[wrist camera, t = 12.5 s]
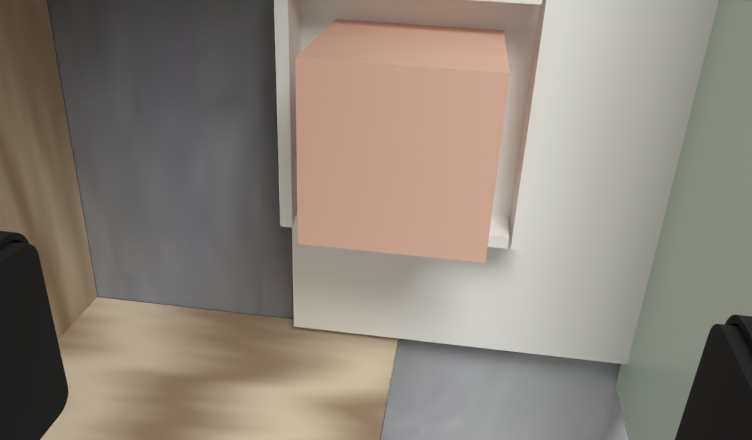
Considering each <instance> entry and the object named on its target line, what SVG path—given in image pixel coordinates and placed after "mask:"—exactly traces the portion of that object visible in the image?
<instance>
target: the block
mask: <svg viewBox="0 0 752 440" xmlns="http://www.w3.org/2000/svg"><path fill="white" fill-rule="evenodd" d="M295 73H296V149H297V224H298V244H304V245H314V246H324V247H333V248H343V249H353V250H362V251H372V252H382V253H392V254H401V255H411V256H421V257H431V258H440V259H450V260H460V261H470V262H479V263H486V255H487V247H488V240H489V232H490V224H491V216H492V208H493V201H494V193H495V185H496V177H497V169H498V162H499V154H500V146H501V138H502V130H503V123H504V115H505V107H506V99H507V91H508V84H509V76H510V71H509V64H508V57H507V50H506V43H505V35H504V30H489V29H474V28H459V27H444V26H430V25H415V24H400V23H385V22H370V21H355V20H340V19H335V20H334V21H333V22H332V23H331V24H330V25H329V26H328V27H327V28H326V29H325V30H324V31H323V32H322V33H321V34H320V35H318V36H317V37H316V38H315V39H314V40H313V41H312V42H311V43H310V44H309V45H308V46H307V47H306V48H305V49H304V50H303V51H302V52H301V53H300V54H299V55H297V56H296V57H295Z"/></svg>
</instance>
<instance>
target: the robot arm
mask: <svg viewBox="0 0 752 440" xmlns="http://www.w3.org/2000/svg"><path fill="white" fill-rule="evenodd" d="M67 399H68V384H67V379H66V375H65V370H64V366H63V361H62V357H61V352H60V348H59V343H58V339H57V334H56V330H55V325H54V321H53V316H52V312H51V307H50V303H49V298H48V294H47V289H46V285H45V280H44V276H43V271H42V267H41V262H40V258H39V254H38V251H37V249H36V248H35V247H34V246H33V245H31V244H29V242H28V240H27V239H26V237H25V236H24V235H22V234H20V233H16V232H7V231H0V440H40V439H41V438H42V437H43V436H44V434H45V433H46V432H47V431H48V429H49V428H50V427H51V426H52V424H53V423H54V422H55V421H56V419H57V418H58V417H59V416H60V414H61V413H62V411H63V410H64V407H65V405H66V402H67ZM675 440H752V316H744V315H735V314H734V315H732V316H730V317H729V318H728V320H727V321H726V323H725V325H724V324H715V325H713V326H712V328H711V329H710V332H709V334H708V337H707V340H706V344H705V347H704V350H703V353H702V356H701V359H700V362H699V365H698V368H697V372H696V375H695V378H694V381H693V384H692V387H691V390H690V393H689V397H688V400H687V403H686V406H685V409H684V412H683V415H682V418H681V422H680V425H679V428H678V431H677V434H676V437H675Z"/></svg>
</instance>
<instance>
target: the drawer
mask: <svg viewBox="0 0 752 440" xmlns="http://www.w3.org/2000/svg"><path fill="white" fill-rule="evenodd" d="M335 19H340V20H355V21H370V22H385V23H400V24H415V25H430V26H444V27H459V28H474V29H489V30H504V35H505V43H506V50H507V57H508V64H509V71H510V76H509V84H508V91H507V99H506V107H505V115H504V123H503V130H502V138H501V146H500V154H499V162H498V169H497V177H496V185H495V193H494V201H493V208H492V216H491V224H490V232H489V240H488V247H487V255H486V263H479V262H470V261H460V260H450V259H440V258H431V257H421V256H411V255H401V254H392V253H382V252H372V251H362V250H353V249H343V248H333V247H324V246H314V245H304V244H298V224H297V149H296V73H295V57H296V56H297V55H299V54H300V53H301V52H302V51H303V50H304V49H305V48H306V47H307V46H308V45H309V44H310V43H311V42H312V41H313V40H314V39H315V38H316V37H317V36H318V35H320V34H321V33H322V32H323V31H324V30H325V29H326V28H327V27H328V26H329V25H330V24H331V23H332V22H333V21H334V20H335ZM274 21H275V57H276V93H277V129H278V165H279V201H280V226H282V227H292V254H293V306H294V327H303V328H311V329H320V330H329V331H338V332H346V333H355V334H364V335H373V336H381V337H390V338H399V339H408V340H416V341H425V342H434V343H443V344H451V345H460V346H469V347H478V348H486V349H495V350H504V351H513V352H521V353H530V354H539V355H548V356H556V357H565V358H574V359H583V360H591V361H600V362H609V363H618V364H621V365H620V369H619V373H618V377H617V381H616V385H615V388H616V392H617V396H618V400H619V404H620V407H621V411H622V415H623V419H624V423H625V427H626V430H627V434H628V438H629V440H675V437H676V434H677V431H678V428H679V425H680V422H681V418H682V415H683V412H684V409H685V406H686V403H687V400H688V397H689V393H690V390H691V387H692V384H693V381H694V378H695V375H696V372H697V368H698V365H699V362H700V359H701V356H702V353H703V350H704V347H705V344H706V340H707V337H708V334H709V332H710V329H711V328H712V326H713V325H715V324H724V325H725V323H726V321H727V320H728V318H729V317H730V316H732V315H734V314H735V315H744V316H752V0H274Z"/></svg>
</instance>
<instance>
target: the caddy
mask: <svg viewBox="0 0 752 440" xmlns="http://www.w3.org/2000/svg"><path fill="white" fill-rule="evenodd" d="M0 231H7V232H16V233H20V234H22V235H24V236H25V237H26V239H27V240H28V242H29V244H31V245H33V246H34V247H35V248H36V249H37V251H38V254H39V258H40V262H41V267H42V271H43V276H44V280H45V285H46V289H47V294H48V298H49V303H50V307H51V312H52V316H53V321H54V325H55V330H56V334H57V339H58V343H59V348H60V352H61V357H62V361H63V366H64V370H65V375H66V379H67V384H68V399H67V402H66V405H65V407H64V410H63V411H62V413H61V414H60V416H59V417H58V418H57V419H56V421H55V422H54V423H53V424H52V426H51V427H50V428H49V429H48V431H47V432H46V433H45V434H44V436H43V437H42V438H41V439H40V440H381V435H382V429H383V424H384V418H385V413H386V407H387V402H388V396H389V391H390V385H391V380H392V374H393V369H394V363H395V358H396V352H397V347H398V340H399V338H390V337H381V336H373V335H364V334H355V333H346V332H338V331H329V330H320V329H311V328H303V327H294V319H286V318H277V317H268V316H259V315H250V314H241V313H233V312H224V311H215V310H206V309H197V308H188V307H180V306H171V305H162V304H153V303H144V302H135V301H127V300H118V299H109V298H100V297H97V292H96V286H95V280H94V274H93V268H92V263H91V257H90V251H89V245H88V239H87V233H86V227H85V222H84V216H83V210H82V204H81V198H80V192H79V186H78V181H77V175H76V169H75V163H74V157H73V151H72V145H71V140H70V134H69V128H68V122H67V116H66V110H65V104H64V99H63V93H62V87H61V81H60V75H59V69H58V63H57V58H56V52H55V46H54V40H53V34H52V28H51V22H50V17H49V11H48V5H47V0H0Z"/></svg>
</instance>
